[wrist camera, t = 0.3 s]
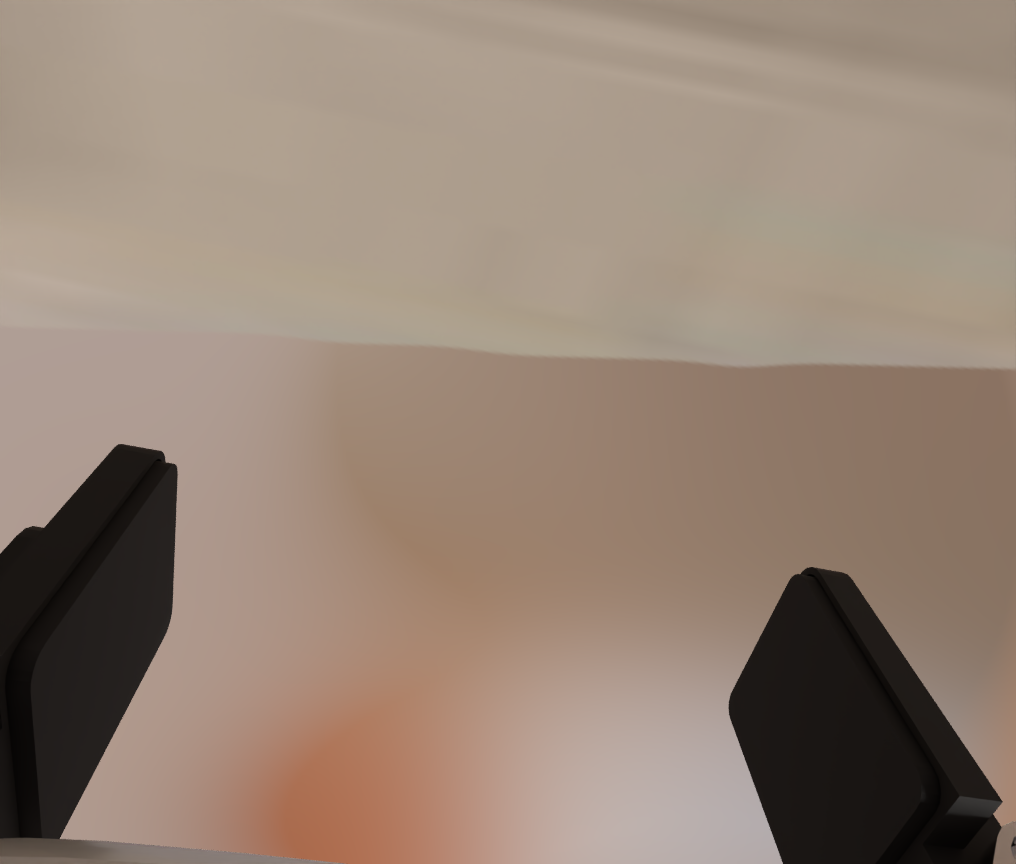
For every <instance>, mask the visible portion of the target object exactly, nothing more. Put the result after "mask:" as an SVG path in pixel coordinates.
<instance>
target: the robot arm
mask: <svg viewBox="0 0 1016 864" xmlns="http://www.w3.org/2000/svg"><path fill="white" fill-rule="evenodd" d="M176 501H177V466H176V465H175V464H172V463H166V462H165V456H164V453H163V452H162V451H157V450H152V449H146V448H141V447H135V446H130V445H124V444H118V445H117V446H116V447H115V448H114V449H113V450H112V451H111V452H110V453H109V454H108V456H107V457H106V458H105V459H104V460H103V461H102V462H101V464H100V465H99V466H98V467H97V468H96V469H95V470H94V471H93V473H92V474H91V475H90V476H89V477H88V478H87V479H86V481H85V482H84V483H83V484H82V485H81V486H80V487H79V489H78V490H77V491H76V492H75V493H74V494H73V495H72V497H71V498H70V499H69V500H68V501H67V502H66V503H65V505H64V506H63V507H62V508H61V509H60V510H59V512H58V513H57V514H56V515H55V516H54V517H53V518H52V520H51V521H50V522H49V523H48V524H47V525H46V526H45V528H41V527H35V526H32V527H29V528H26V529H24V530H23V531H22V532H21V533H19V534H18V535H17V536H16V537H15V538H14V539H13V541H12V542H11V543H10V544H9V545H8V546H7V547H6V548H5V549H4V550H3V551H2V553H1V554H0V864H343V863H334V862H324V861H314V860H304V859H295V858H285V857H275V856H266V855H256V854H247V853H236V852H225V851H224V852H223V851H213V850H201V849H190V848H178V847H167V846H155V845H144V844H132V843H120V842H109V841H92V840H66V839H60V837H61V835H62V833H63V831H64V829H65V827H66V825H67V823H68V821H69V819H70V817H71V816H72V814H73V812H74V810H75V808H76V806H77V804H78V802H79V800H80V798H81V796H82V794H83V792H84V791H85V788H86V787H87V785H88V783H89V781H90V779H91V777H92V775H93V773H94V771H95V769H96V767H97V765H98V764H99V762H100V760H101V758H102V756H103V754H104V752H105V750H106V748H107V746H108V744H109V742H110V740H111V739H112V737H113V734H114V733H115V731H116V729H117V727H118V725H119V723H120V721H121V719H122V717H123V715H124V714H125V712H126V710H127V708H128V706H129V704H130V702H131V700H132V698H133V696H134V694H135V692H136V690H137V688H138V687H139V685H140V683H141V681H142V679H143V677H144V675H145V673H146V671H147V669H148V667H149V665H150V663H151V661H152V659H153V658H154V656H155V654H156V652H157V650H158V648H159V646H160V644H161V642H162V640H163V638H164V636H165V634H166V632H167V629H168V626H169V623H170V619H171V614H172V604H173V578H174V552H175V551H174V550H175V527H176ZM729 715H730V719H731V721H732V724H733V727H734V730H735V732H736V736H737V738H738V741H739V743H740V746H741V749H742V752H743V755H744V757H745V760H746V763H747V766H748V768H749V771H750V774H751V777H752V779H753V782H754V785H755V788H756V791H757V793H758V796H759V799H760V801H761V804H762V807H763V810H764V812H765V815H766V818H767V821H768V823H769V826H770V829H771V831H772V834H773V837H774V840H775V843H776V845H777V848H778V851H779V853H780V856H781V859H782V862H783V864H1016V822H1011V823H1009V824H1006V825H1004V826H1002V827H1001V826H1000V824H999V823H998V821H997V820H996V818H995V817H994V815H993V813H994V812H995V811H996V809H997V808H998V807H999V806H1000V805H1001V803H1002V800H1001V799H1000V797H999V796H998V794H997V793H996V791H995V790H994V789H993V787H992V785H991V784H990V783H989V781H988V779H987V778H986V776H985V775H984V774H983V772H982V771H981V769H980V768H979V766H978V765H977V763H976V762H975V760H974V759H973V757H972V756H971V754H970V753H969V751H968V750H967V749H966V747H965V746H964V744H963V743H962V741H961V740H960V738H959V737H958V735H957V734H956V732H955V731H954V729H953V728H952V726H951V725H950V723H949V722H948V720H947V719H946V717H945V716H944V715H943V713H942V712H941V710H940V709H939V707H938V706H937V704H936V703H935V701H934V700H933V698H932V697H931V695H930V694H929V692H928V691H927V689H926V688H925V687H924V685H923V683H922V682H921V681H920V679H919V678H918V676H917V675H916V673H915V672H914V671H913V669H912V667H911V666H910V664H909V663H908V661H907V660H906V658H905V657H904V655H903V654H902V652H901V651H900V650H899V648H898V647H897V645H896V644H895V642H894V641H893V639H892V638H891V636H890V635H889V633H888V632H887V630H886V629H885V627H884V626H883V624H882V623H881V622H880V620H879V619H878V617H877V616H876V614H875V613H874V611H873V610H872V608H871V607H870V605H869V604H868V602H867V601H866V600H865V598H864V596H863V595H862V593H861V592H860V590H859V589H858V587H857V586H856V585H855V583H854V582H853V580H852V579H851V578H850V577H849V576H848V575H847V574H845V573H842V572H836V571H831V570H825V569H819V568H814V567H810V568H807V569H805V570H804V571H803V572H802V573H801V574H797V575H794V576H793V577H792V578H791V579H790V581H789V582H788V584H787V586H786V588H785V590H784V592H783V594H782V596H781V598H780V600H779V602H778V603H777V606H776V607H775V609H774V611H773V613H772V615H771V617H770V619H769V621H768V623H767V625H766V627H765V629H764V631H763V633H762V634H761V636H760V638H759V641H758V642H757V644H756V646H755V648H754V650H753V652H752V654H751V656H750V658H749V660H748V662H747V664H746V665H745V668H744V669H743V671H742V673H741V675H740V677H739V679H738V681H737V683H736V685H735V687H734V689H733V691H732V693H731V696H730V700H729Z"/></svg>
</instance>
